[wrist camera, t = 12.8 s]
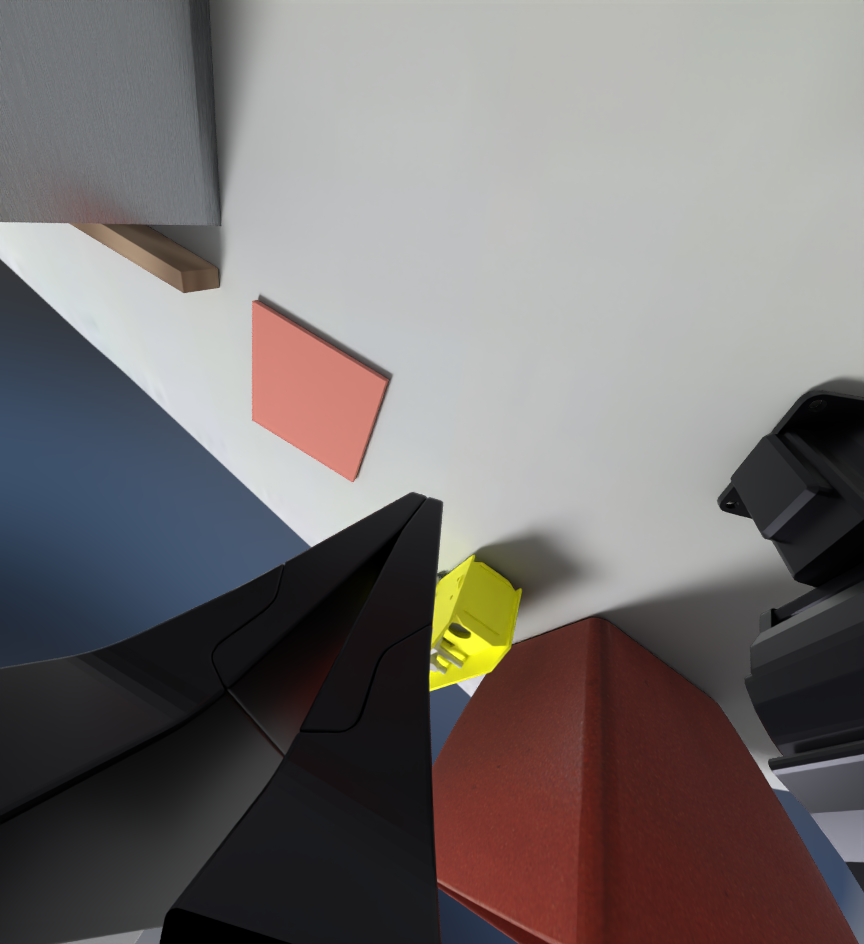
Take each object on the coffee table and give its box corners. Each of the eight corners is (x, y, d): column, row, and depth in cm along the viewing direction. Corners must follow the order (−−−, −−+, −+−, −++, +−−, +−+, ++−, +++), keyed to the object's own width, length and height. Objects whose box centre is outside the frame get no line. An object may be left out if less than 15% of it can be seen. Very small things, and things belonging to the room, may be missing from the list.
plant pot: (457, 637, 36) (384, 857, 23) (596, 570, 23) (602, 979, 10) (593, 734, 36) (594, 998, 24) (800, 721, 24) (1035, 1271, 11)
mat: (389, 379, 21) (386, 381, 20) (355, 479, 27) (352, 482, 27) (257, 299, 21) (252, 300, 21) (255, 418, 28) (252, 420, 27)
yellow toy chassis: (471, 543, 27) (434, 639, 20) (526, 583, 27) (507, 690, 21) (396, 605, 37) (357, 680, 31) (436, 633, 37) (405, 714, 31)
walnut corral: (181, -301, 10) (85, -424, 8) (219, 287, 21) (183, 293, 20) (-199, -503, 10) (-374, -665, 8) (38, 178, 22) (-13, 173, 20)
